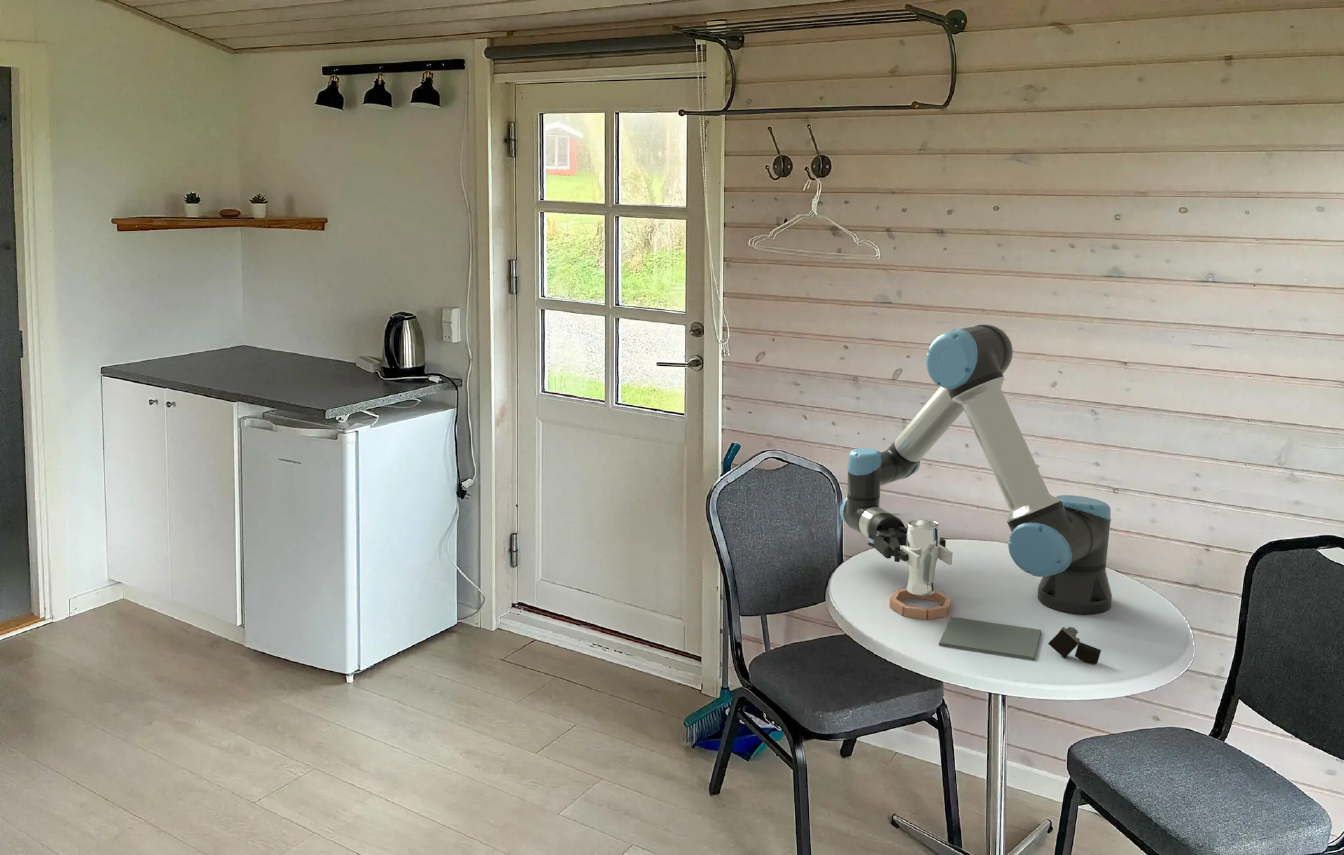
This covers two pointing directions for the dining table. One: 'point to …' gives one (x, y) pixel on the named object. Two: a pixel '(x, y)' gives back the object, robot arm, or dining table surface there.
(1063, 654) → the lighter
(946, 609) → the coaster ring
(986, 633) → the mat
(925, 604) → the dining table surface
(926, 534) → the beer glass
